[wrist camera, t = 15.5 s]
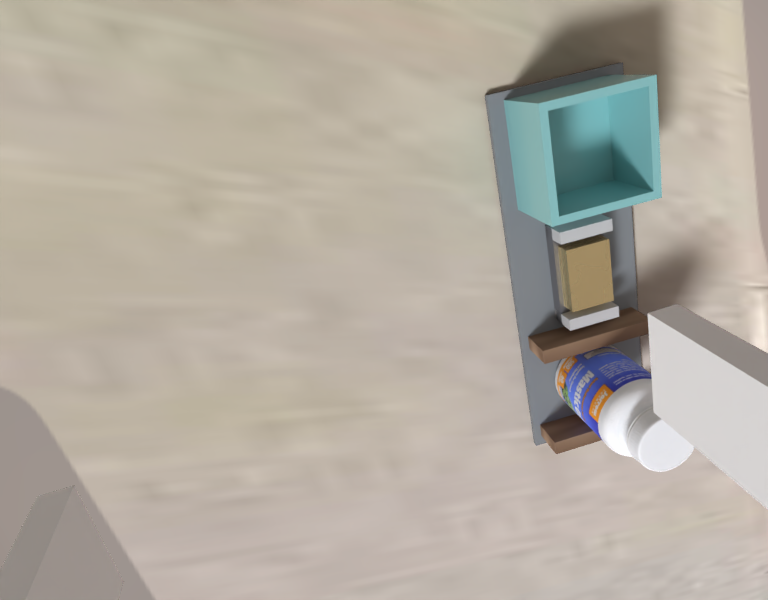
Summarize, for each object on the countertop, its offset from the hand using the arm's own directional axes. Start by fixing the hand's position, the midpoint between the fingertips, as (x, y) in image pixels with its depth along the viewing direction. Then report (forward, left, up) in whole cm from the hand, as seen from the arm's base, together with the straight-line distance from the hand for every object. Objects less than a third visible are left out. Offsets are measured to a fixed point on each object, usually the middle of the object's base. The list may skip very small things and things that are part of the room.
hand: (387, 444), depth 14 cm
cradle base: (+8, +17, -26) cm, 32 cm away
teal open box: (0, +17, -26) cm, 31 cm away
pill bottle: (+17, +17, -26) cm, 36 cm away
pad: (+8, +17, -25) cm, 31 cm away
